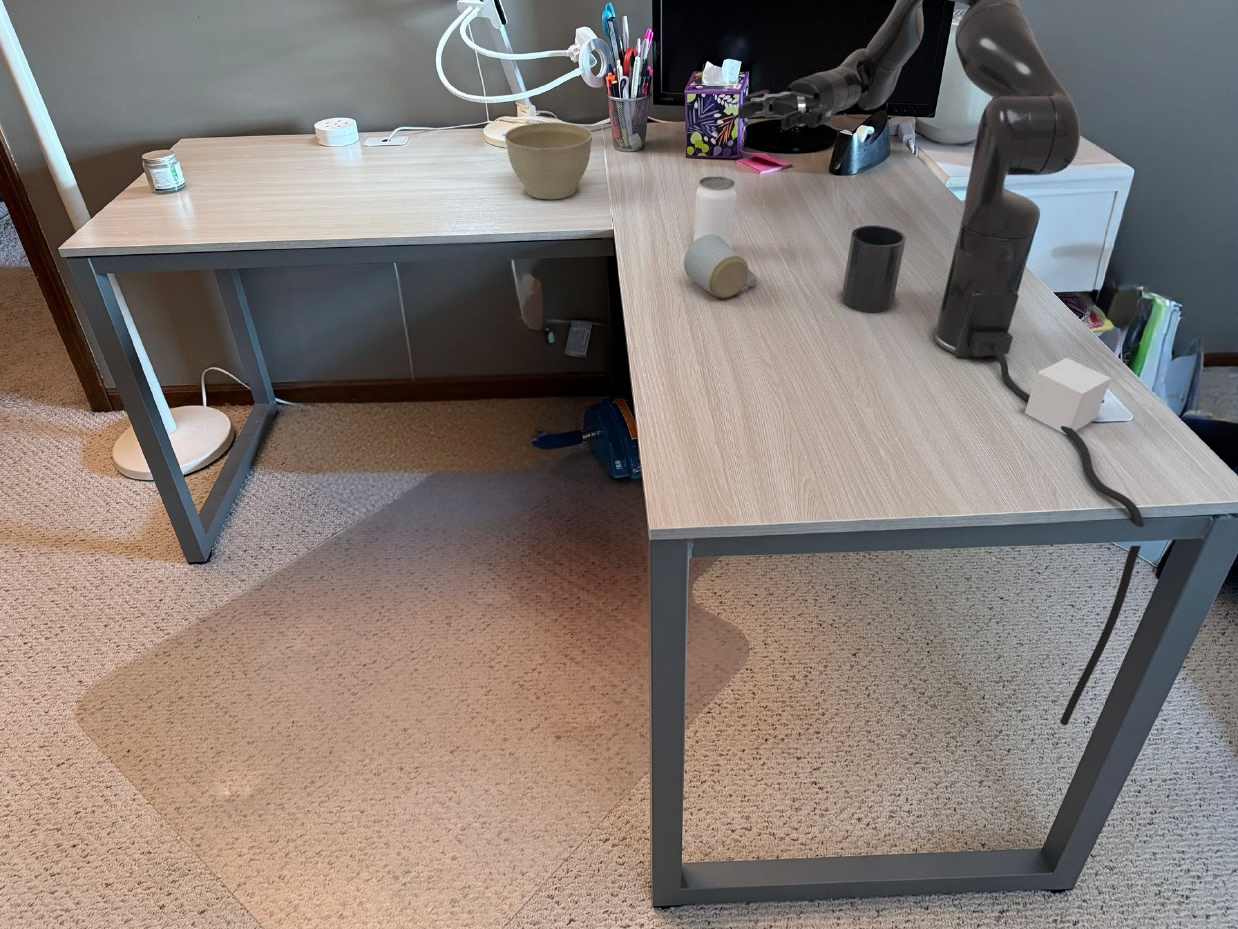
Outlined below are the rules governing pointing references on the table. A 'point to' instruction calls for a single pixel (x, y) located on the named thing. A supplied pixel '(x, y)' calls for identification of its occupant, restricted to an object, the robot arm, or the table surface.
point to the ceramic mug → (717, 267)
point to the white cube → (1067, 395)
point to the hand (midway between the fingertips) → (761, 117)
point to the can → (715, 208)
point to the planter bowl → (549, 157)
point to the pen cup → (873, 268)
